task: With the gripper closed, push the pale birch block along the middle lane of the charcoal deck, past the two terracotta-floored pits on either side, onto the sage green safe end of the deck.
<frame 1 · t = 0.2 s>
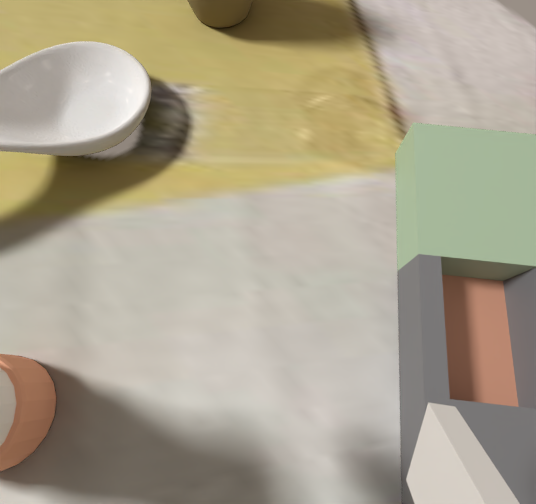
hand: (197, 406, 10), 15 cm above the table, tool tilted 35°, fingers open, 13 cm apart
spoon rest: (42, 161, 31), on the table
squeeze bottle: (222, 11, 38), on the table
salt shaker: (3, 411, 24), on the table
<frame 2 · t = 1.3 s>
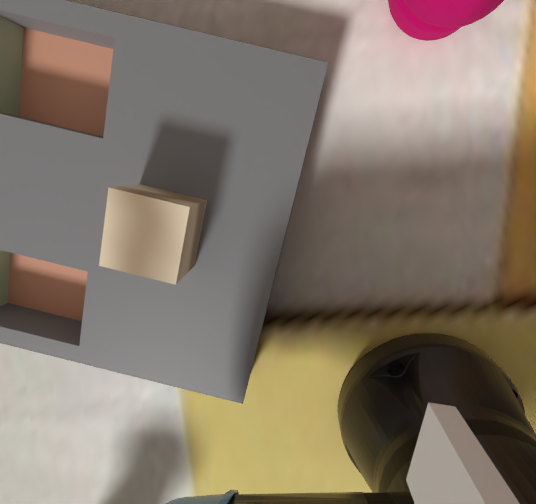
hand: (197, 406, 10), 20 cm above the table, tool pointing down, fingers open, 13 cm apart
birch block: (167, 225, 26), point 4 cm above the table, touching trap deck
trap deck: (86, 194, 30), on the table
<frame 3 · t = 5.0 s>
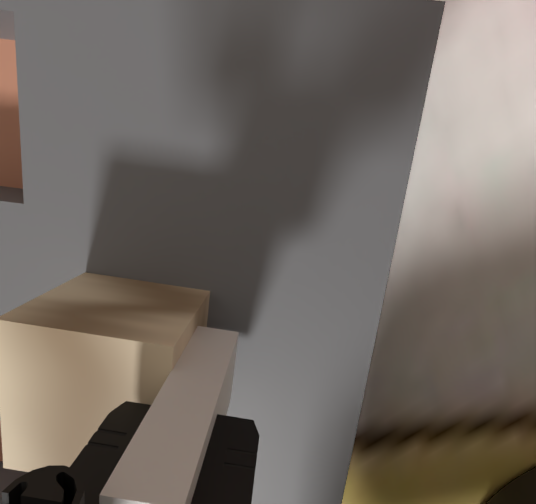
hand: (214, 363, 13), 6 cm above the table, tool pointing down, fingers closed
birch block: (144, 339, 15), point 4 cm above the table, touching gripper
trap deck: (29, 283, 19), on the table
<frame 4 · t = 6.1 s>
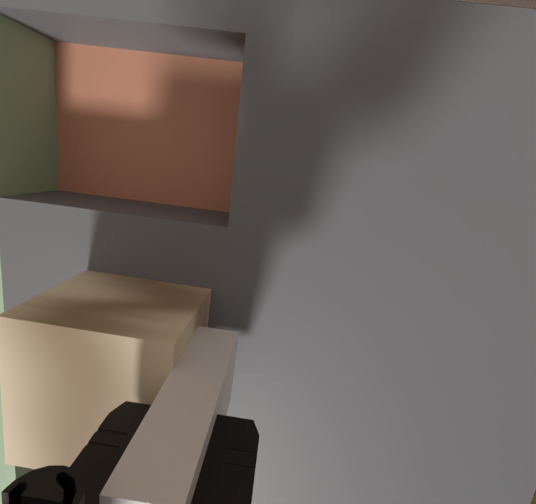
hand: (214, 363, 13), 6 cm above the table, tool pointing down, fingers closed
birch block: (145, 337, 15), point 4 cm above the table, touching gripper
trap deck: (176, 301, 18), on the table
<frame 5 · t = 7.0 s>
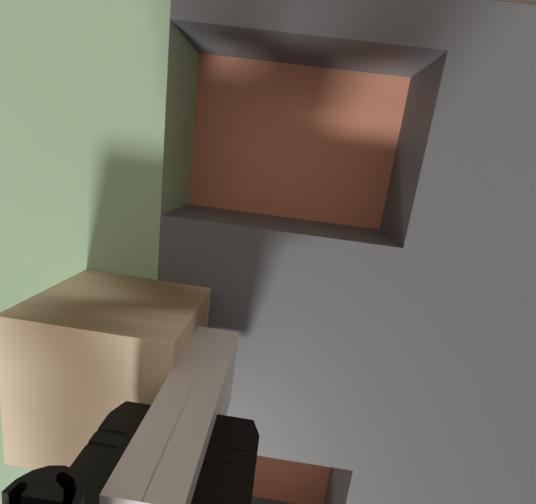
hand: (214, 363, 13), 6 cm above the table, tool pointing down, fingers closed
birch block: (145, 336, 14), point 4 cm above the table, touching gripper
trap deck: (299, 316, 18), on the table
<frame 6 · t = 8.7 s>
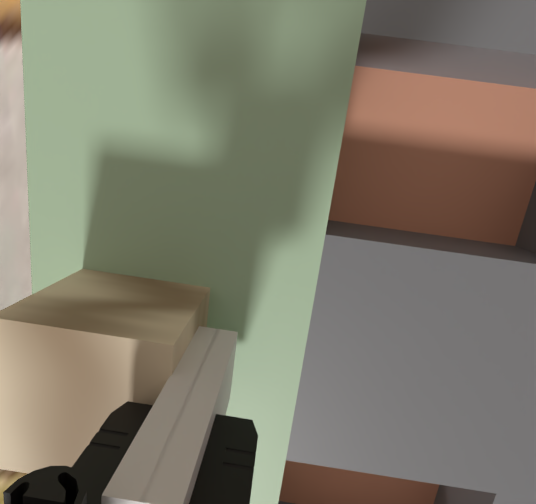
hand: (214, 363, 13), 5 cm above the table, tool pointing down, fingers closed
birch block: (143, 336, 14), point 4 cm above the table, touching gripper, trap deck
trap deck: (420, 332, 18), on the table
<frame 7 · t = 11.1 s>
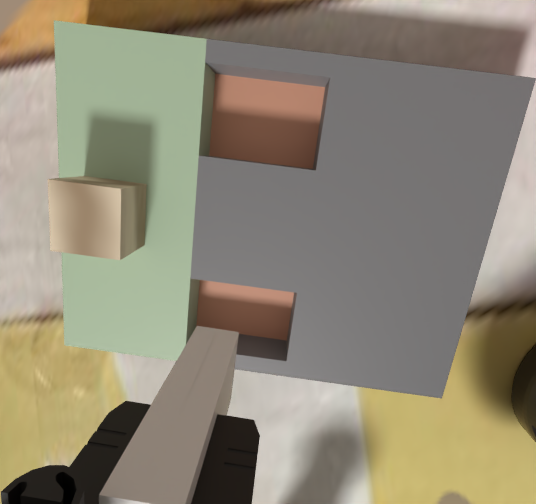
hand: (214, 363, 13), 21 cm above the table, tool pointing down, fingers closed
birch block: (115, 211, 29), point 4 cm above the table, touching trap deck
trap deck: (271, 220, 32), on the table
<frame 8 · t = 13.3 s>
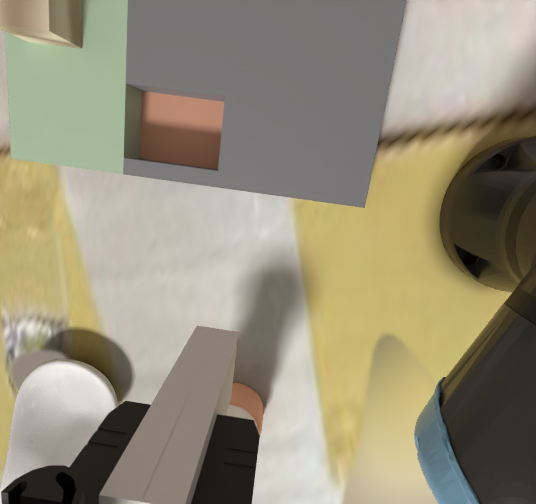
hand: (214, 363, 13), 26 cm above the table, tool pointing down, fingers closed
birch block: (54, 13, 31), point 4 cm above the table, touching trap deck
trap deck: (206, 43, 34), on the table
spoon rest: (69, 420, 47), on the table
salt shaker: (234, 406, 44), on the table
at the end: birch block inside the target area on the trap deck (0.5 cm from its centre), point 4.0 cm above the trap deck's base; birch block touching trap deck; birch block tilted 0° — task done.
